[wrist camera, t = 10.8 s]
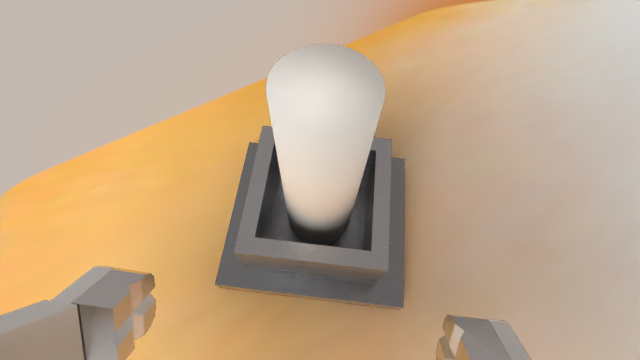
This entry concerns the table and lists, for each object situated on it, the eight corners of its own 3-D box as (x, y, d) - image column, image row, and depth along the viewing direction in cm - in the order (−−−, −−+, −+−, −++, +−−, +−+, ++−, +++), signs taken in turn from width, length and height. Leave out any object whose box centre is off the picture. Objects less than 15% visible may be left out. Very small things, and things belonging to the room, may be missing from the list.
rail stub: (351, 191, 21) (386, 49, 11) (347, 249, 19) (383, 143, 10) (292, 184, 21) (276, 38, 11) (283, 241, 20) (255, 129, 10)
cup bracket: (400, 166, 23) (419, 127, 19) (398, 309, 19) (422, 298, 15) (251, 150, 23) (239, 108, 19) (219, 287, 19) (195, 270, 15)
